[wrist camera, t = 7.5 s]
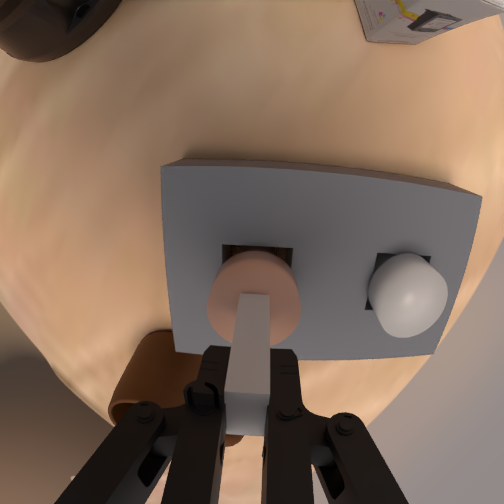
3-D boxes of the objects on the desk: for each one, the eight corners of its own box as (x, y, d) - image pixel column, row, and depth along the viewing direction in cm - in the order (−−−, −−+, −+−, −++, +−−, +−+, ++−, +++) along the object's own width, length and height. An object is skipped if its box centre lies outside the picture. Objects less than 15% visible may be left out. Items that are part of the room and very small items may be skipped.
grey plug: (355, 226, 22) (390, 267, 15) (410, 231, 22) (456, 270, 15) (345, 283, 24) (371, 339, 17) (397, 285, 24) (433, 335, 17)
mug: (260, 353, 28) (257, 432, 19) (239, 398, 31) (232, 468, 22) (142, 317, 27) (103, 385, 19) (137, 368, 30) (108, 431, 21)
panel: (182, 158, 21) (160, 166, 17) (448, 183, 21) (482, 196, 16) (189, 316, 27) (175, 351, 22) (413, 322, 26) (433, 354, 22)
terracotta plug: (224, 223, 22) (205, 267, 15) (293, 226, 22) (306, 272, 15) (224, 284, 24) (208, 345, 17) (287, 287, 23) (295, 350, 17)
